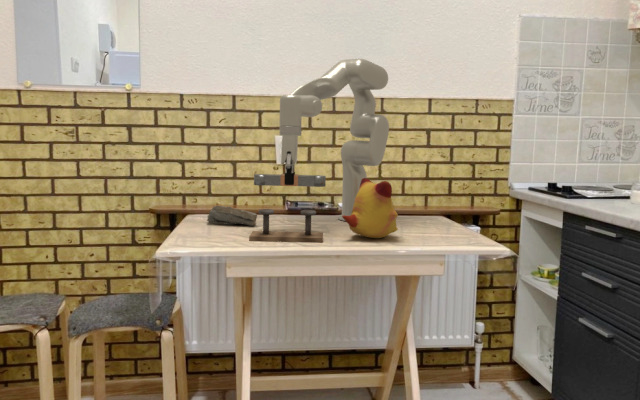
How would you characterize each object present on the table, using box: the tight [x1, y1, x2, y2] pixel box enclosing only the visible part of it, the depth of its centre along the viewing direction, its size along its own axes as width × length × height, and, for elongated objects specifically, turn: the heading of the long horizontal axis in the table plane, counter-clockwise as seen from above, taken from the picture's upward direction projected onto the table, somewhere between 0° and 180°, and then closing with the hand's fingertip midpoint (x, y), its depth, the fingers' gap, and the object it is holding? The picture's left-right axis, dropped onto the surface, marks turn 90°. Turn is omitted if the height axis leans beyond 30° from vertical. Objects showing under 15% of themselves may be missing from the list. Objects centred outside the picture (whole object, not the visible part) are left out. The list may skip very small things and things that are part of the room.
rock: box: [206, 205, 258, 227], centre depth 216 cm, size 11×18×10 cm, turn 84°
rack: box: [248, 208, 324, 243], centre depth 191 cm, size 24×9×10 cm, turn 89°
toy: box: [342, 177, 399, 239], centre depth 194 cm, size 20×21×20 cm
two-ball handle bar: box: [253, 173, 327, 188], centre depth 200 cm, size 25×5×4 cm, turn 89°
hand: (289, 183), depth 201 cm, fingers closed on two-ball handle bar, 4 cm apart
